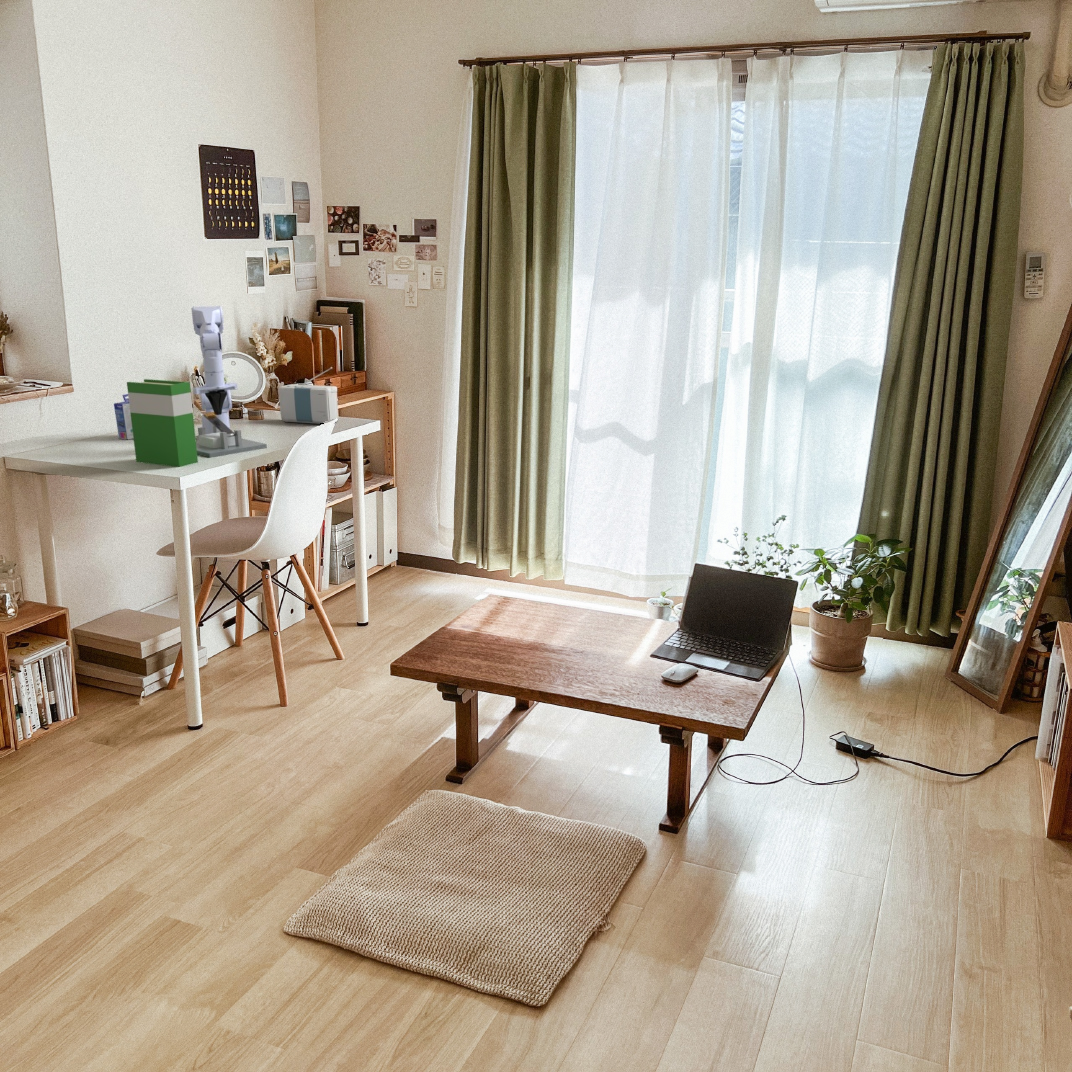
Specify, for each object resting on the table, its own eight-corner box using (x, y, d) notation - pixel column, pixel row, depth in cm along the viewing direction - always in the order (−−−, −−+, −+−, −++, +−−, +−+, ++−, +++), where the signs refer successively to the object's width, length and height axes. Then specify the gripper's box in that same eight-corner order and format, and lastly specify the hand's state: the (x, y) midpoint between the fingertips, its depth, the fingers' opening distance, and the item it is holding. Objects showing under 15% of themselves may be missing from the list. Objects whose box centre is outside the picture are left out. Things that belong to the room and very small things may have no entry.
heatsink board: (174, 448, 331) (172, 429, 329) (230, 439, 345) (228, 420, 343) (210, 457, 316) (208, 437, 315) (266, 447, 330) (265, 428, 328)
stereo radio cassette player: (280, 422, 375) (275, 367, 370) (293, 419, 383) (289, 364, 377) (328, 426, 368) (325, 369, 362) (341, 422, 375) (338, 367, 369)
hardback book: (136, 461, 311) (126, 382, 305) (155, 457, 318) (146, 379, 311) (179, 467, 304) (170, 385, 297) (197, 462, 310) (189, 382, 303)
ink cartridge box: (142, 434, 356) (137, 392, 352) (152, 435, 353) (147, 393, 349) (117, 438, 348) (111, 395, 344) (127, 440, 345) (122, 397, 341)
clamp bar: (203, 416, 331) (203, 412, 330) (211, 415, 333) (212, 411, 332) (227, 438, 323) (227, 434, 323) (235, 436, 326) (236, 432, 325)
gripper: (199, 374, 318) (204, 418, 322) (241, 370, 329) (244, 412, 332) (187, 373, 323) (192, 416, 327) (229, 368, 333) (232, 410, 337)
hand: (218, 414), depth 330 cm, fingers closed
